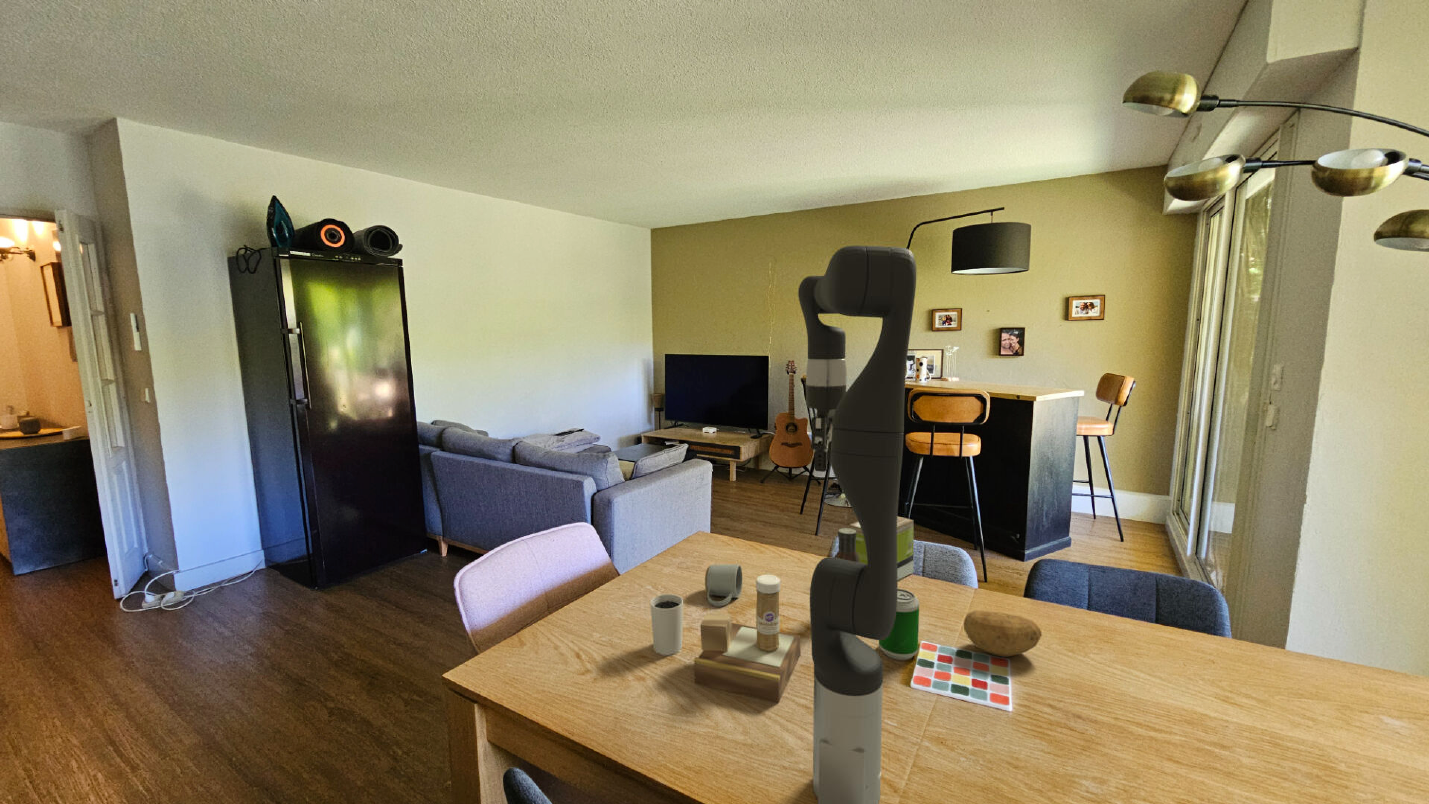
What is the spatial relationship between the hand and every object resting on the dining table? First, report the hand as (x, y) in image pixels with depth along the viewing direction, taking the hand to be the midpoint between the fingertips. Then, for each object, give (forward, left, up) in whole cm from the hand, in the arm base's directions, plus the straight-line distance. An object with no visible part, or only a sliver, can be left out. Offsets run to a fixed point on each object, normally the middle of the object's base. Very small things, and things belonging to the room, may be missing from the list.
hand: (825, 466), depth 111 cm
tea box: (+41, -7, -38) cm, 57 cm away
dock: (-11, +12, -38) cm, 41 cm away
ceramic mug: (+15, +27, -38) cm, 50 cm away
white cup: (-10, +30, -38) cm, 50 cm away
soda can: (+5, -14, -38) cm, 41 cm away
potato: (+12, -33, -38) cm, 52 cm away
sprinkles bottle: (-9, +9, -34) cm, 36 cm away
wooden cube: (-14, +18, -32) cm, 39 cm away
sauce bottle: (+16, -2, -38) cm, 42 cm away
